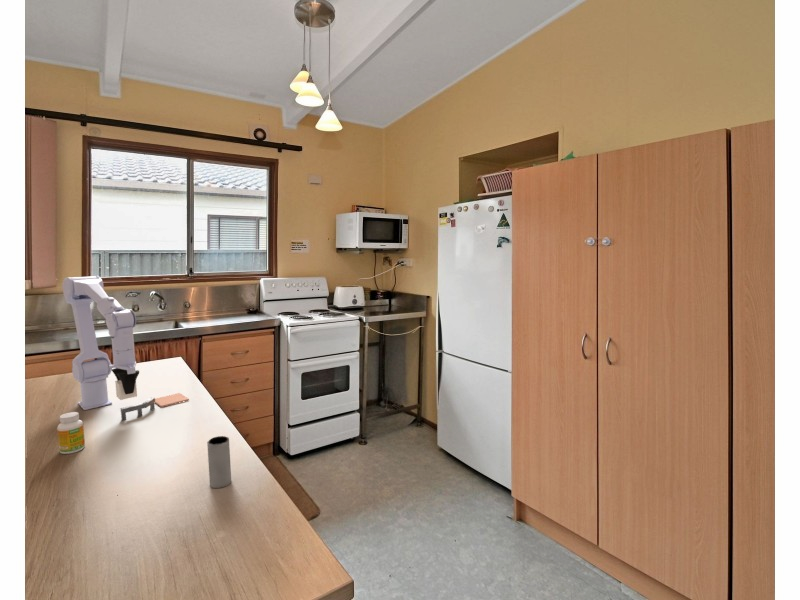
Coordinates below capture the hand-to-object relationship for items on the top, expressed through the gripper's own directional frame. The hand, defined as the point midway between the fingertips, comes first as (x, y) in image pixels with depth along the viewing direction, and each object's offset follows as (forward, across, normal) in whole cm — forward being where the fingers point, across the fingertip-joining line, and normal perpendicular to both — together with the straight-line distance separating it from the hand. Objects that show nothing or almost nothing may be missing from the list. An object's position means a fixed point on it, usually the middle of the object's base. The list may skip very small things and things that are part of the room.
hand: (127, 391), depth 133 cm
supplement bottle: (+9, +13, -16) cm, 23 cm away
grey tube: (+9, +58, +4) cm, 59 cm away
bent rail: (+9, -2, +3) cm, 9 cm away
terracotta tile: (+9, -7, +14) cm, 18 cm away
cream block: (+2, 0, 0) cm, 2 cm away
